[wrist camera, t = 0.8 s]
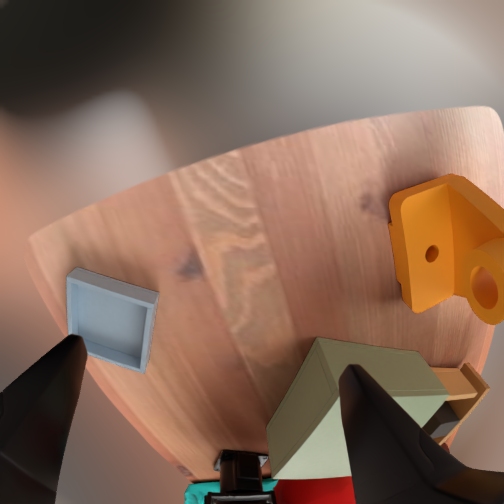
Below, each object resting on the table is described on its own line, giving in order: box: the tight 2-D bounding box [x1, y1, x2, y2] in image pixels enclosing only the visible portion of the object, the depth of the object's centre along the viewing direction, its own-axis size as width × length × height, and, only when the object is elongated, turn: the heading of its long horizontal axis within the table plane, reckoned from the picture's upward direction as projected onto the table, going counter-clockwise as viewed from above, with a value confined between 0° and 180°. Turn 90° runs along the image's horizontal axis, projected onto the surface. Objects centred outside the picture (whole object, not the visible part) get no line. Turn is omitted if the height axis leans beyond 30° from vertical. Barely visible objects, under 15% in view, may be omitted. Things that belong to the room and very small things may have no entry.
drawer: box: [430, 363, 490, 445], centre depth 27 cm, size 16×13×6 cm
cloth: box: [185, 478, 279, 504], centre depth 37 cm, size 26×14×2 cm, turn 124°
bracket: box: [388, 174, 504, 325], centre depth 17 cm, size 11×7×12 cm, turn 20°
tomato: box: [274, 476, 356, 504], centre depth 29 cm, size 13×13×13 cm
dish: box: [66, 267, 159, 373], centre depth 23 cm, size 8×8×2 cm
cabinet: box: [266, 337, 450, 479], centre depth 25 cm, size 14×15×8 cm
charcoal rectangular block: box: [422, 401, 460, 438], centre depth 27 cm, size 3×4×5 cm, turn 73°
